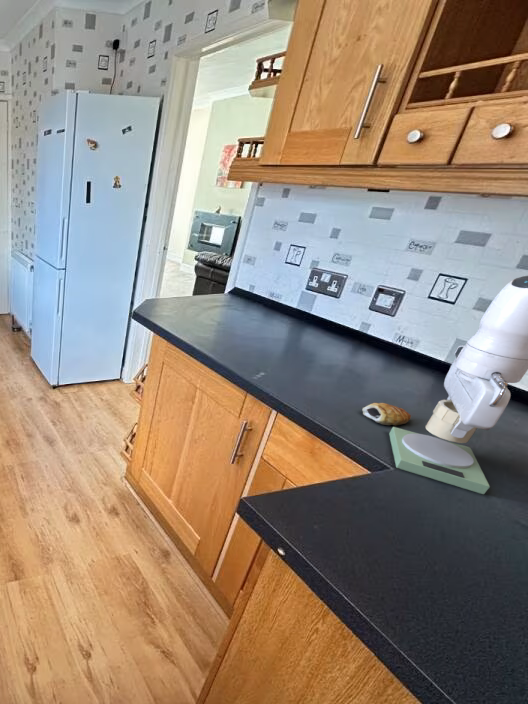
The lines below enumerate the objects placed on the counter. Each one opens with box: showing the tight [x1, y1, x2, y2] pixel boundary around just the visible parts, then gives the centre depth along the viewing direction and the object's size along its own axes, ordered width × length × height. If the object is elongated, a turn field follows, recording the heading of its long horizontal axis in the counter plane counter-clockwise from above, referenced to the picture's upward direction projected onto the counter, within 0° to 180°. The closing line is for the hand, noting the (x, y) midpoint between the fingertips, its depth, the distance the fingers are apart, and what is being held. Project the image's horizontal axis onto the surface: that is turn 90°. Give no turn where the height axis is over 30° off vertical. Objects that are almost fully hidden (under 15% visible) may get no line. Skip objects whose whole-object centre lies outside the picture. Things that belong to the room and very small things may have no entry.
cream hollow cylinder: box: [424, 399, 478, 444], centre depth 83 cm, size 7×7×6 cm
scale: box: [388, 426, 491, 495], centre depth 86 cm, size 13×15×3 cm
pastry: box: [361, 402, 412, 426], centre depth 100 cm, size 9×7×4 cm
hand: (451, 426), depth 83 cm, fingers closed on cream hollow cylinder, 7 cm apart
